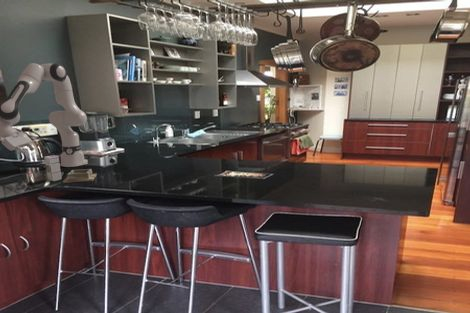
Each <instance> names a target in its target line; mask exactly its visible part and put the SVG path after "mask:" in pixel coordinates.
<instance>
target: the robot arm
mask: <svg viewBox="0 0 470 313" xmlns="http://www.w3.org/2000/svg"><path fill="white" fill-rule="evenodd" d="M66 70H67V69H66V68H65V67H64V66H63V65H62V64H60V63H55V62H53V63H40V64H38V63H36V62H35V63H34V62H33V63H32V62H31V63H29V64H28V65H27V66H26V68H24V69H23V71H22V72H21V74H20V76H19V77H18V79H17V82H16V84H15V86H14V87H13V89H12V90H11V92H10V93H9V95H8V96H7V97H6V99H4V100H2V101H0V142H1V144H2V145H3V146H4V147H5V148H7V150H9V151H10V152H11V151H12V152H13V151H16V152H19V153H21V154H22V155H24V154H26V152H27V150H25V149H23V148H25V147H27V148H28V149H29V150H30V151H31V152H32V151H33V152H34V150H35V147H33V145H32V143H33V140H32V139H31V138H30V137H29V136H28V135H27V134H25V133H23V130H22V129H19V128H18V129H17V128H14V127H13V126H14V125H16V124H18V123H19V122H20V120H21V115H20V111H19V106H20V104H21V102H22V100H23V99H24V97H25V95H26V94H33V93H35V92H36V91H37V90H38V88H39V87H40V86H41V83H42V81H43V82H44V81H45V82H52V84H53V91H54V96H55V101H56V103H57V104H58V105H60V107H62V108H63V109H64V110H55V111H51V112H50V114H48V121H49V123H50V124H51V125H52V126H53V127H54V128H56V130H57V132H58V133H59V135H60V140H61V144H62V146H61V151H62V152H61V153H60V163H59V164H60V167H65V168H70V167H71V168H72V167H73V168H75V167H79V166H84V165H88V159H86V157H85V156H84V155H85V154H84V152H83V151H82V147H81V146H82V145H81V144H80V136H79V133H78V132H76V131H74V130H73V129H72V127H81V126H84V125H86V123H87V121H88V118H87V114H86V113H85V112H84V111H83V110H82V109H80V107H78V105H77V104H76V102H75V98H74V93H73V86H72V83H71V80H70V77H69V75H67V71H66Z"/></svg>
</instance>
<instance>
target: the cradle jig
mask: <svg viewBox="0 0 470 313" xmlns="http://www.w3.org/2000/svg"><path fill="white" fill-rule="evenodd" d="M97 174H98V173H93V170H92V168H87V169H86V168H85V169H82V168H81V169H71V171H70V172H68V173H67V174H66V177H65V179H64V180H63V181H62V183H64V184H65V183H66V184H67V183H80V182H82V183H83V182H92V181H94V180H95V178H96V177H97Z"/></svg>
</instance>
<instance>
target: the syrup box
mask: <svg viewBox="0 0 470 313" xmlns="http://www.w3.org/2000/svg"><path fill="white" fill-rule="evenodd" d="M44 164H45V171H46V180H47V181H50V182H57V181H60V180H62V173H61V166H60V164H61V163H60V157H59V155H54V154H53V155H46V156H44Z"/></svg>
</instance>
